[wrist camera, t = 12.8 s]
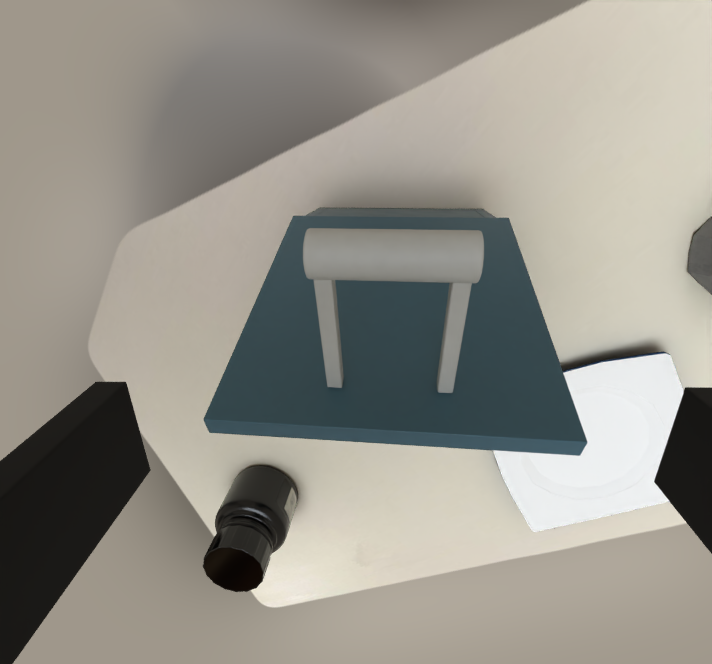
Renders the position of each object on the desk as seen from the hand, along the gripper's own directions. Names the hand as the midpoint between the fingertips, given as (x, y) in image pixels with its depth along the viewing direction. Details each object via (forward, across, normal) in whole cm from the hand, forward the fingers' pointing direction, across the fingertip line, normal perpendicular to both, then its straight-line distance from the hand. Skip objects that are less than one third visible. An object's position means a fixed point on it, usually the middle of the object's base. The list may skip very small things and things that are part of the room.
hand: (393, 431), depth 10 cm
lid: (+15, 0, -2) cm, 16 cm away
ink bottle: (+34, -16, -36) cm, 52 cm away
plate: (+33, +23, -25) cm, 47 cm away
